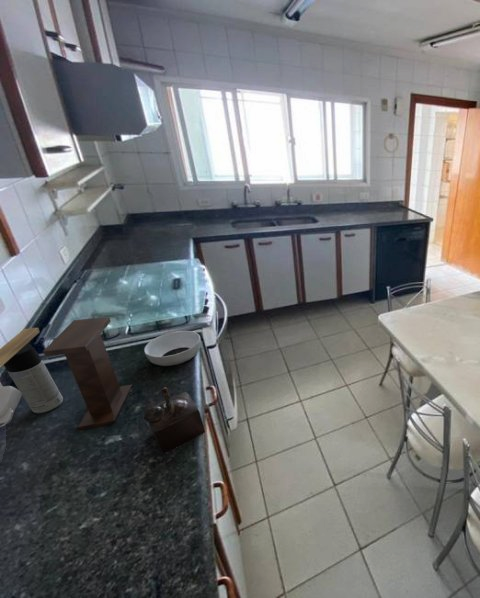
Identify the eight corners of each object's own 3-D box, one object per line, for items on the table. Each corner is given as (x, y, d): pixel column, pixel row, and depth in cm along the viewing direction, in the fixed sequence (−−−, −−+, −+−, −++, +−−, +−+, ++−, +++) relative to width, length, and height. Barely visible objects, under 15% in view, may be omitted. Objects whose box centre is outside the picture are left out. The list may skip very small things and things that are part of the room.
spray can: (59, 394, 100) (28, 339, 92) (68, 403, 97) (37, 347, 88) (29, 407, 95) (-7, 351, 86) (37, 417, 92) (1, 360, 83)
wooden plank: (-23, 375, 78) (-26, 370, 77) (26, 333, 94) (24, 328, 94) (-6, 373, 79) (-9, 368, 78) (40, 331, 95) (38, 327, 95)
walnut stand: (79, 431, 89) (42, 351, 78) (102, 393, 103) (73, 320, 92) (115, 424, 92) (85, 346, 81) (133, 388, 105) (109, 316, 95)
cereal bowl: (149, 379, 110) (143, 362, 107) (150, 354, 123) (144, 338, 119) (206, 363, 119) (202, 347, 116) (202, 341, 131) (197, 325, 128)
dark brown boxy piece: (150, 435, 90) (127, 384, 82) (194, 414, 97) (178, 365, 89) (166, 472, 80) (143, 419, 72) (214, 445, 87) (198, 394, 79)
